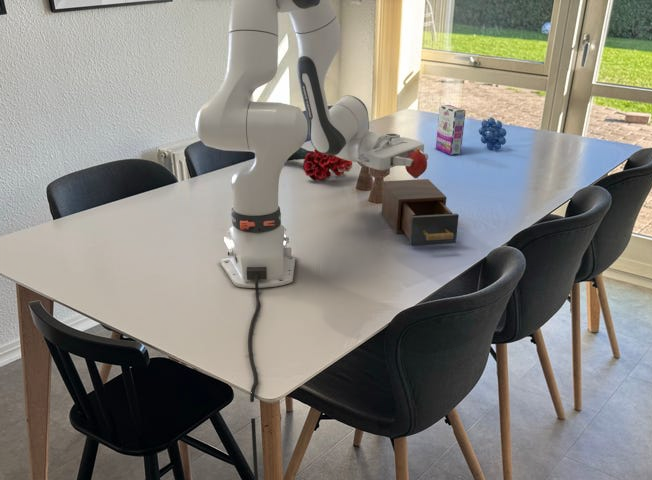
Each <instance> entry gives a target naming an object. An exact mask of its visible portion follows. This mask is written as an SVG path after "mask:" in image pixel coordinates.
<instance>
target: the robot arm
mask: <svg viewBox="0 0 652 480" xmlns="http://www.w3.org/2000/svg"><path fill="white" fill-rule="evenodd" d="M279 13H280V14H281V13H288V15H289V19H290V23H291V25H292V28H293V31H294V34H295V38H296V42H297V51H298V52H297V53H298V55H297V56H298V59H297V65H296V71H297V72H296V73H297V78H298V83H299V87H300V92H301V96H302V100H303V104H304V109H305V112H306V113H304V112H303V110H302V109H301V108H300V107H299V106H295V105H292V104H288V103H282V102H273V101H272V102H271V101H252V97H253V94H254V92H255V91H256V90H257V89H258V88H261V87H262V86H265V85H266V84H269V83H270V82H271V81H272V80H273V79H274V78H275V77H276V75H277V72H278V69H279V68H278V65H279V63H278V62H279V17H278V16H279V15H278V14H279ZM228 19H229V20H228V44H227V45H228V46H227V47H228V48H227V62H226V70H225V74H224V78H223V80H222V82H221V84H220V86H219V88H218V90H217V91H216V92H215V94H214V95H213V96H212V97H211V98H210V99H209V100H208V101H207V102H204V104H203V105H202V106H201V107H200V108H199V110H198V112H197V115H196V118H195V131H196V134H197V136H198V138H199V140H200V141H201V142H202V144H203V145H204V146H206V147H209V148H212V149H216V150H221V151H229V152H251V153H253V154H254V161H252V162H250V163H248V164H246V165H244V166H242V167H240V168H238V169H237V170H236V171H235V172H234V173H233V175H232V178H231V183H230V184H231V199H232V207H231V214H230V217H231V224H232V225H231V227H230V228H229V229H228V230H227V231H226V236H224V237H223V238H224V240H223V241H224V242H225V244H226V247H227V257H224V258H222V259H221V260H220V265H221V267H222V268H223V270H224V272H225V273H226V274H227V276H228V277H229V279H230V280H231V282H232V284H233V285H234V286H235V287H238V288H243V289H244V288H246V289H247V288H248V289H254V293H255V301H256V306H255V310H254V313H253V315H252V318H251V320H250V324H249V328H248V335H247V348H248V349H247V351H248V359H249V364H250V368H251V371H252V376H253V383H252V386H251V389H250V395H249V402H251V403H254V402H255V393H256V390H257V389H256V388H257V386H258V380H259V379H258V371H257V368H256V365H255V361H254V355H253V346H252V337H253V330H254V327H255V326H254V325H255V322H256V319H257V316H258V314H259V310H260V305H261V302H260V293H259V292H260V291H259V289H263V288H273V287H281V286H286V285H288V284H291V283H293V281H294V275H295V267H296V256H295V254H293V253H292V247H291V246H288V245H287V244H289V243H290V237H288V236H287V227H285V226H284V225H282V211H281V207H280V206H279V187H280V186H279V185H280V176H281V172H282V170H283V168H284V166H285V164H286V162H288V161H287V160H288V158H289V157H290V156H291V155H292V154H293V153H295V152H296V151H297V150H299V149H300V148H303V146H304V144H305V142H306V140H307V137H308V135H309V140H310V143H311V145H312V147H313V148H314V150H315V149H316V150H317V151H318V152H320V153H322V154H325V155H334V156H336V157H338V158H341V159H344V160H347V161H352V163H360V164H362V165H364V166H365V167H367V168H370V169H374V170H377V171H387V170H389V169H391V168H394V167H405V166H408V167H409V166H412V165H413V161H414V160H413V159H411V158H407V157H408V156H409V155H410V154H411V153H412V152H414V151H415V150H416V149H417V148H419V149H420V152H421V153H422V154H423V155H424V156H425V157H426V160H427V161H428V159H429V153H427V152H425V143H424V142H422V141H419V140H416V139H413V138H410V137H405V136H404V137H403V136H401V135H400V134H399V133H377V132H372V131H370V119H369V111H368V108H367V106H366V104H365V103H364V102H363V101H362V100H361V99H360V98H358V97H356V96H355V95H354V96H353V95H344V96H342V97H341V98H340V99H339V100H338V101H336V102H335V103H334V104H333V105H332V106H331V107H330V108H329V105H328V101H327V96H326V91H325V79H326V77H327V73H328V71H329V68H330V66H331V65H332V63H333V61H334V59H335V57H336V55H337V54H338V52H339V49H340V47H341V44H342V31H341V30H342V29H341V25H340V22H339V19H338V15H337V12H336V9H335V6H334V5H333V2H332V0H231V3H230V10H229V18H228ZM251 392H252V393H251ZM250 423H251V441H252V442H251V443H252V444H251V445H252V461H253V478H254V480H259V471H258V470H259V469H258V451H257V435H256V434H257V433H256V431H257V430H256V429H257V428H256V417H255V418H253V417H252V418H251V419H250Z"/></svg>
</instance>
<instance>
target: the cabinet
mask: <svg viewBox="0 0 652 480" xmlns="http://www.w3.org/2000/svg"><path fill="white" fill-rule="evenodd" d="M381 197H382V199H381V214H382V216H383V217H384V218H385V220H386V221H387V223H388V224H389V225H390V227H391V228H392V230H393V231H394V232H395V234H405V233H404V231H403V230H402V229H401V227H400V217H401V202H419V201H438V200H440V201H441V202H442V203H443V204H444V205H445V206H446V207H447V196H446V195H445V194H444V193H443V192H442V190H440V189H439V188H438V187H437V186H436V185H435V184H434V183H433V182H432V181H431V180H430V179H429V178H422V179H419V178H418V179H402V180H400V179H399V180H398V179H397V180H383V181H382V196H381Z"/></svg>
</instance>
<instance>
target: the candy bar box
mask: <svg viewBox="0 0 652 480" xmlns="http://www.w3.org/2000/svg"><path fill="white" fill-rule="evenodd" d="M465 120H466V109H463V108H460V107H457V106H454V105H451V104H443V105H439V109H438V118H437V121H438V122H437V131H436V141H435V149H436V150H438V151H440V152H441V153H442V152H443V153H444V154H446V155H449V156H459V155H461V154H462V146H463V138H464V129H465Z"/></svg>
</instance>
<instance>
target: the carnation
mask: <svg viewBox="0 0 652 480" xmlns="http://www.w3.org/2000/svg"><path fill="white" fill-rule="evenodd" d="M299 160H303V163H302V170H303V171H304V173H305V175H306V176H307V177H308V176H309V178H310V179H311V180H313V181H322V180H325V179H326V178H330V177H332V172H333V173H334V175H335V176H336V177H342V176H345V172H346V173H347V172H348V173H349V172H350V171H351V169H352V168H353V162H352V161H347V160H344V159H341V158H338V157H336V156H334V155H325V154H322V153H320V152H318V151H317V150H316V149H315V148H314V150H308V149H306V148H303V147H301V148H300V149H299V150H297V151H296V152H295V153H293V154H292V155H291V156H290V157H289V158H288V160H287V161H286V162H289V161H290V162H291V161H299Z"/></svg>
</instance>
